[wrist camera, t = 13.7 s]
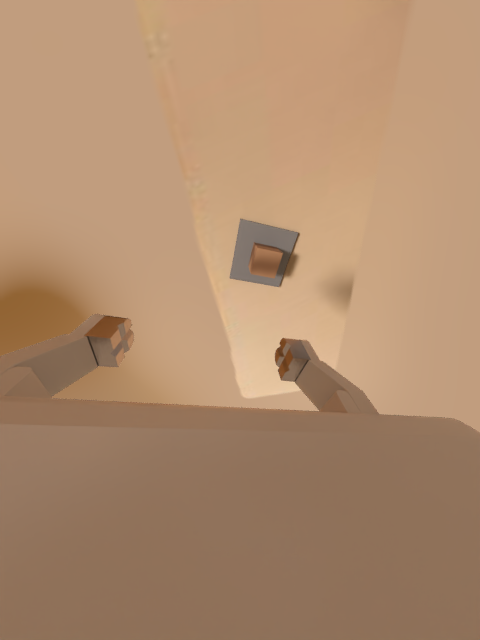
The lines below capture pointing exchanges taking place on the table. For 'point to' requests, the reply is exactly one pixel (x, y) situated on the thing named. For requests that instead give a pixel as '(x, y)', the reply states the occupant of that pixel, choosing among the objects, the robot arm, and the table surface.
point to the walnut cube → (264, 260)
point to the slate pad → (261, 235)
